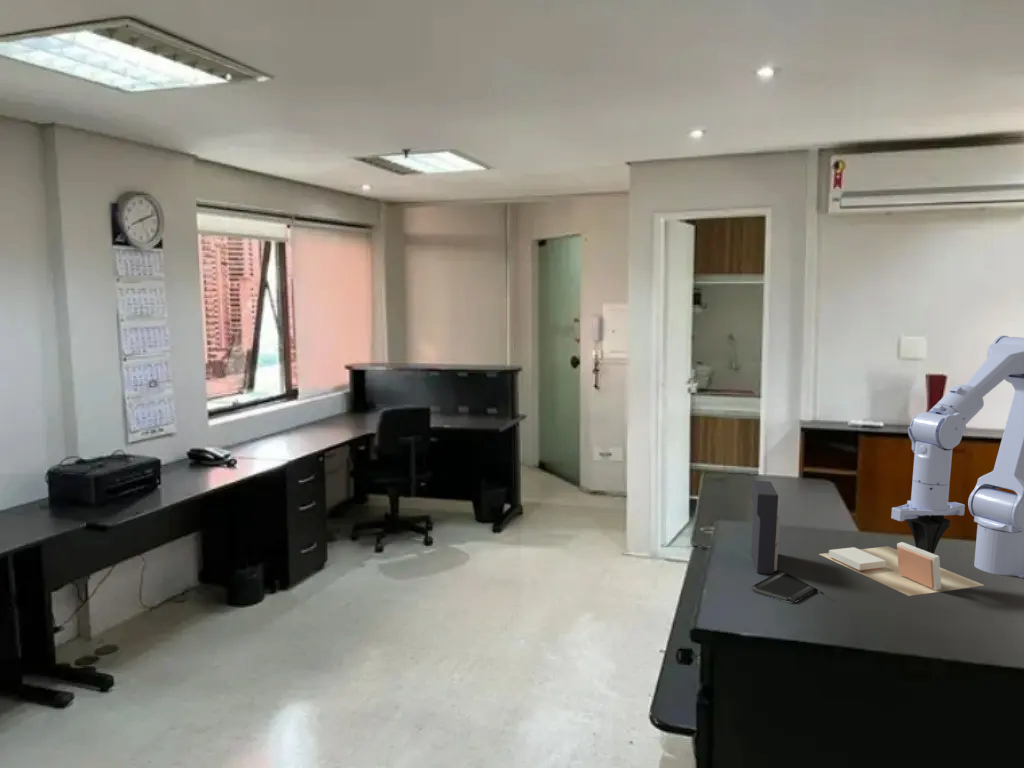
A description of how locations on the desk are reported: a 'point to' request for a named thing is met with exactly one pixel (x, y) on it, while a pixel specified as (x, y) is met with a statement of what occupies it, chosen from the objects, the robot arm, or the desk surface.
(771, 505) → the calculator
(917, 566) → the tile
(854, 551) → the tile
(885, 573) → the board
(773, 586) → the phone
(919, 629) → the desk surface
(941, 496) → the robot arm
